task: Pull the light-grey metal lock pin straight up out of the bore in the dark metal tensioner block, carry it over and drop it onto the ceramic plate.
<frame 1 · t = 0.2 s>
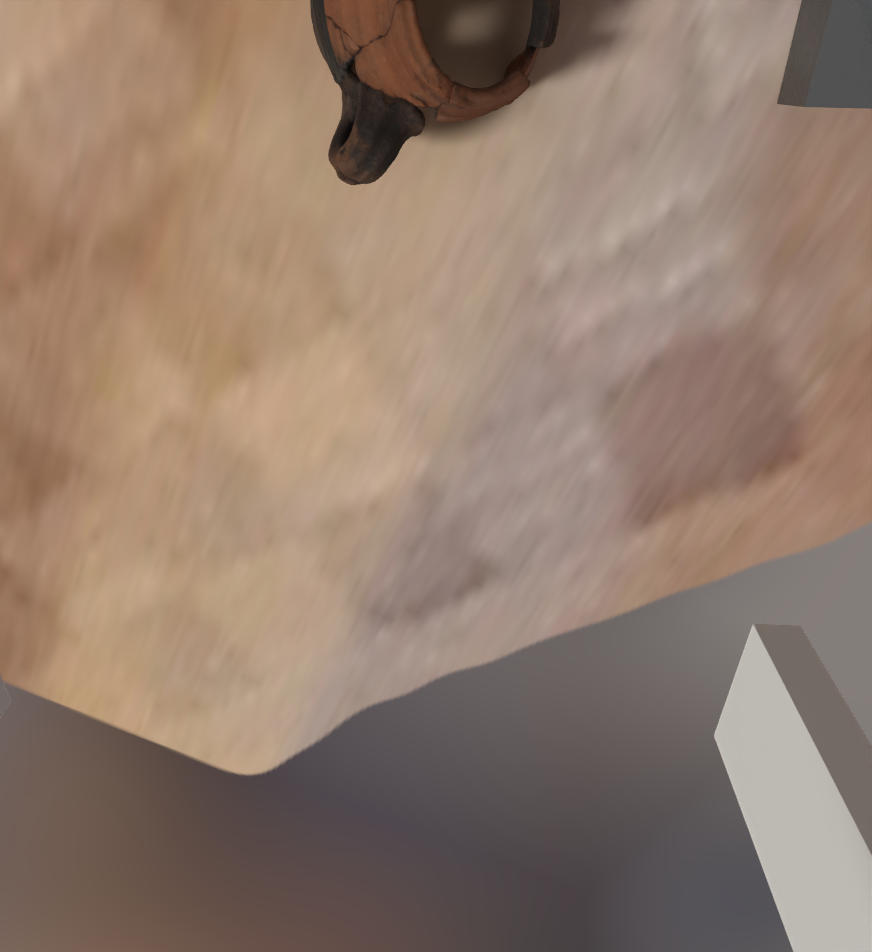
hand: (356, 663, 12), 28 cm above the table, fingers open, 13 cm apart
broken brown mug: (415, 42, 31), on the table
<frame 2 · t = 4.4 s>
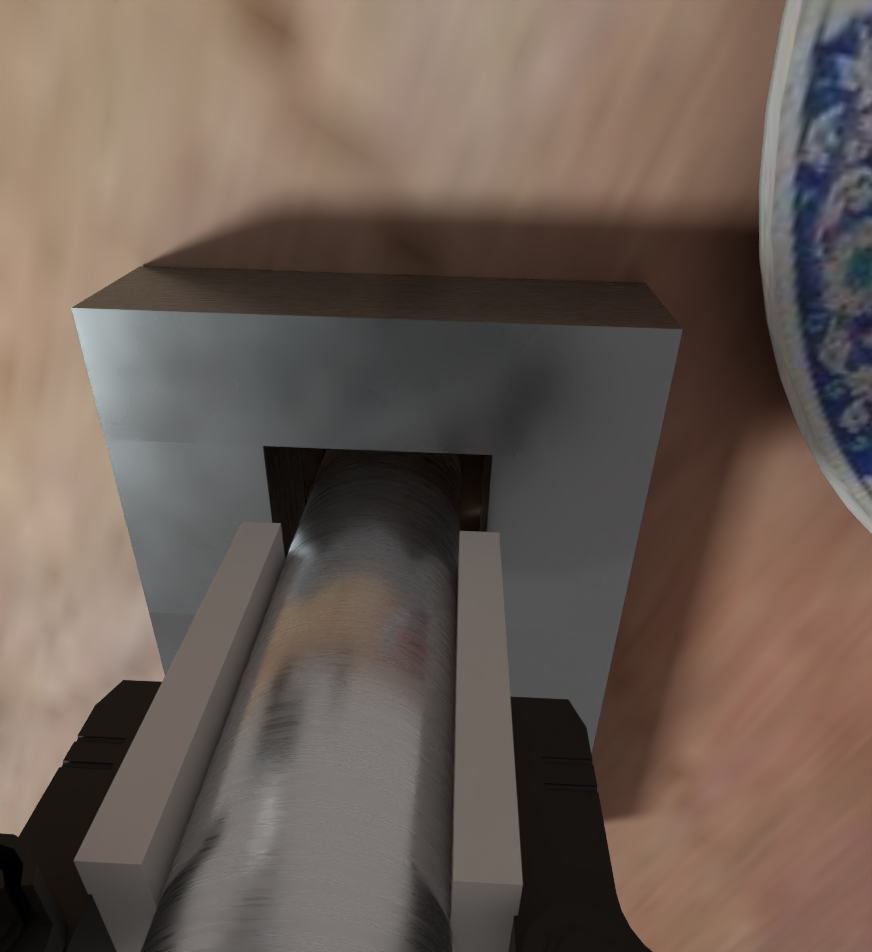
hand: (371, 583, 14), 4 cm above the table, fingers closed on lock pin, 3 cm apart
tensioner block: (394, 620, 20), on the table
lock pin: (392, 472, 17), resting in tensioner block, touching gripper
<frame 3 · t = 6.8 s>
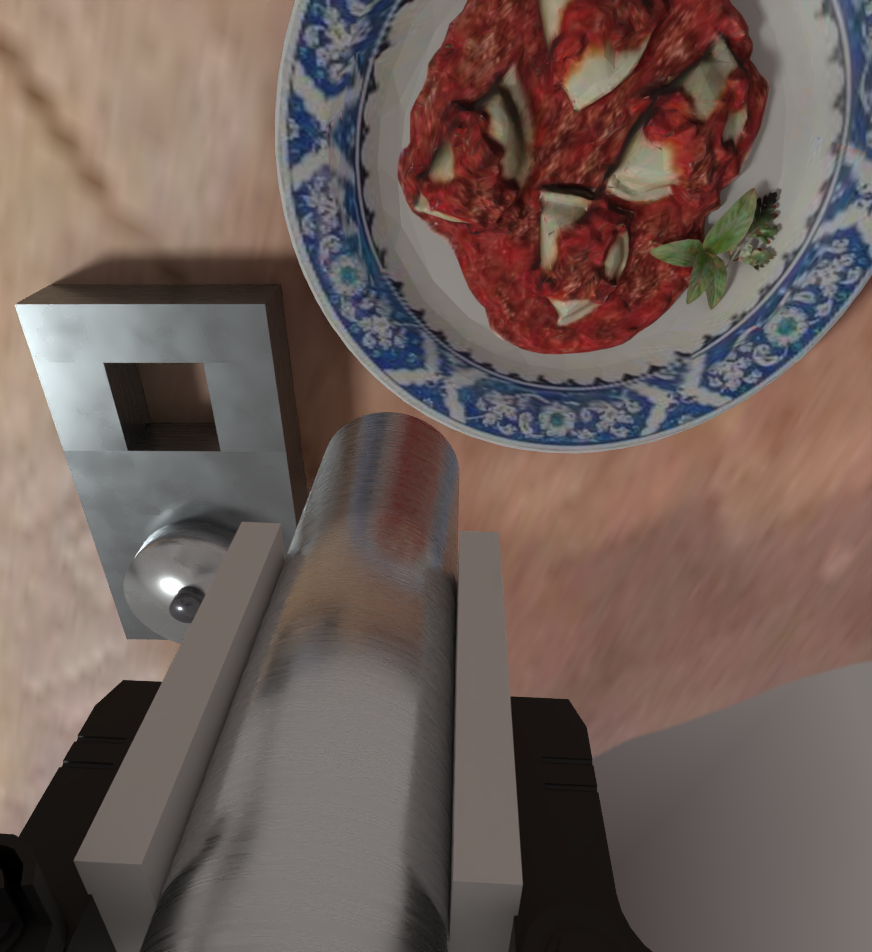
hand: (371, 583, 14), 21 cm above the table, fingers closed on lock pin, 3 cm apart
ceramic plate: (586, 166, 30), on the table
tensioner block: (204, 467, 37), on the table
lock pin: (390, 474, 17), point 17 cm above the table, touching gripper
when the fingers open (8 cm above the table, at t = 9.3 s): lock pin drops 1 cm, resting on ceramic plate.
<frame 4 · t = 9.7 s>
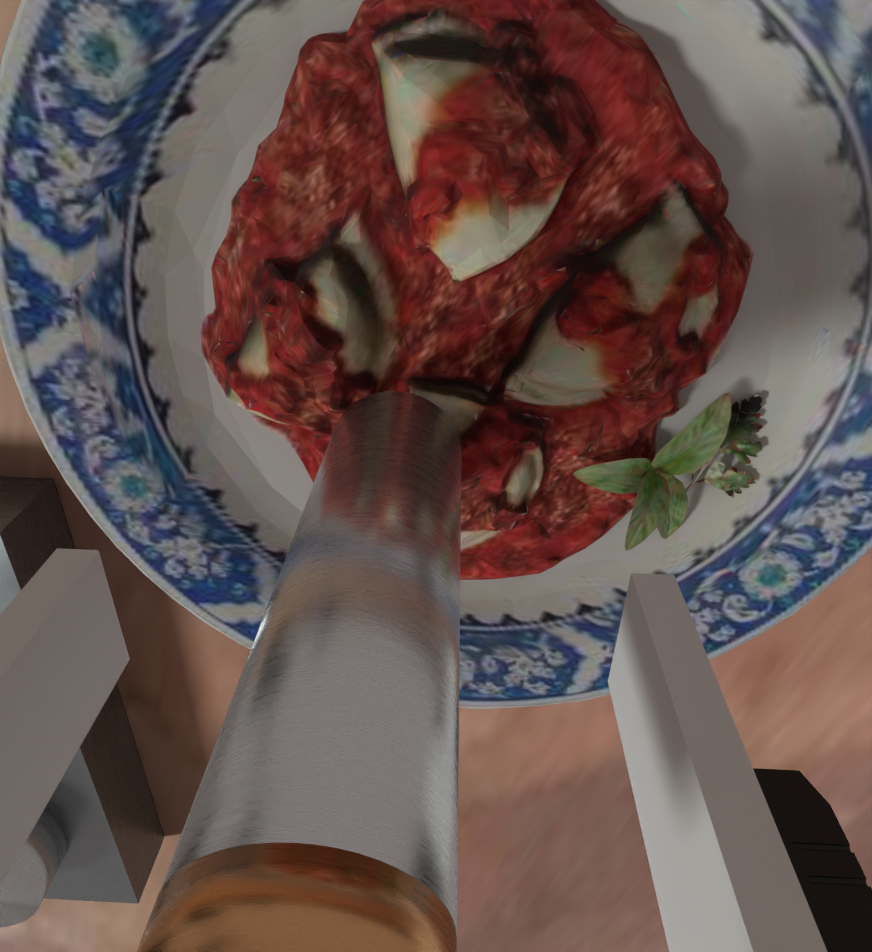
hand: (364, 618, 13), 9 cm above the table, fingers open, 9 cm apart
ceramic plate: (484, 343, 20), on the table, touching lock pin
lock pin: (396, 451, 18), point 3 cm above the table, touching ceramic plate
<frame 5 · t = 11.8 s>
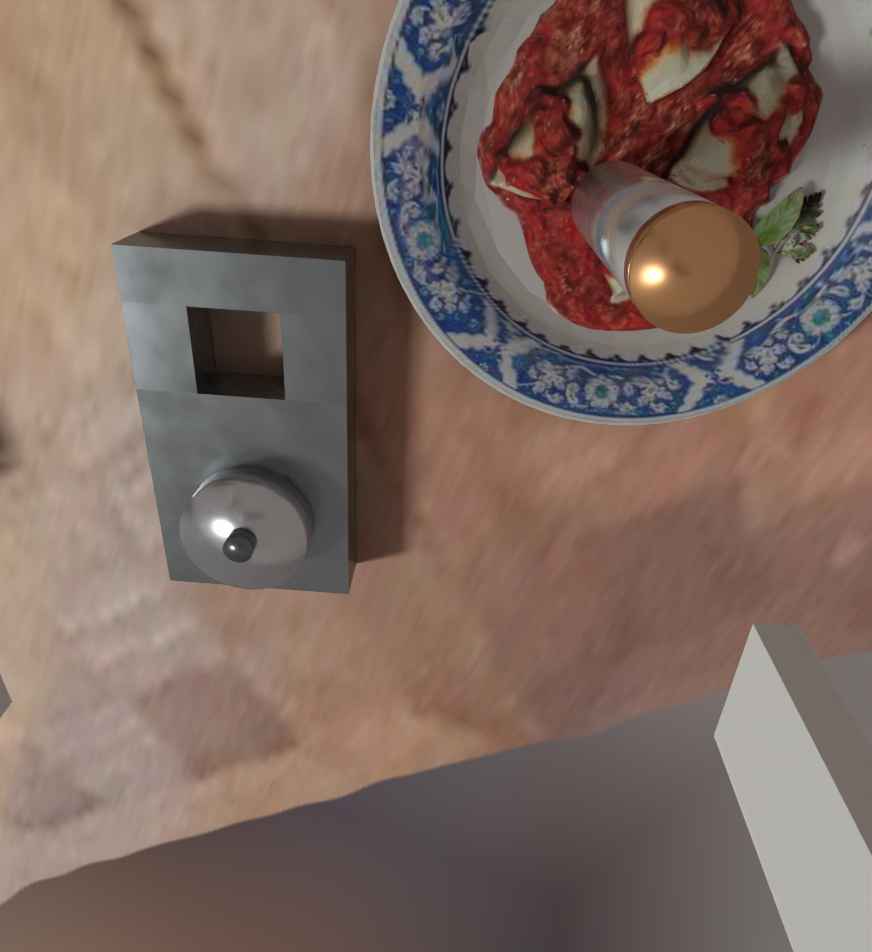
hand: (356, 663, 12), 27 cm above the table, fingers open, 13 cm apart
ceramic plate: (649, 156, 32), on the table, touching lock pin
tensioner block: (260, 418, 39), on the table
lock pin: (611, 203, 30), point 3 cm above the table, touching ceramic plate
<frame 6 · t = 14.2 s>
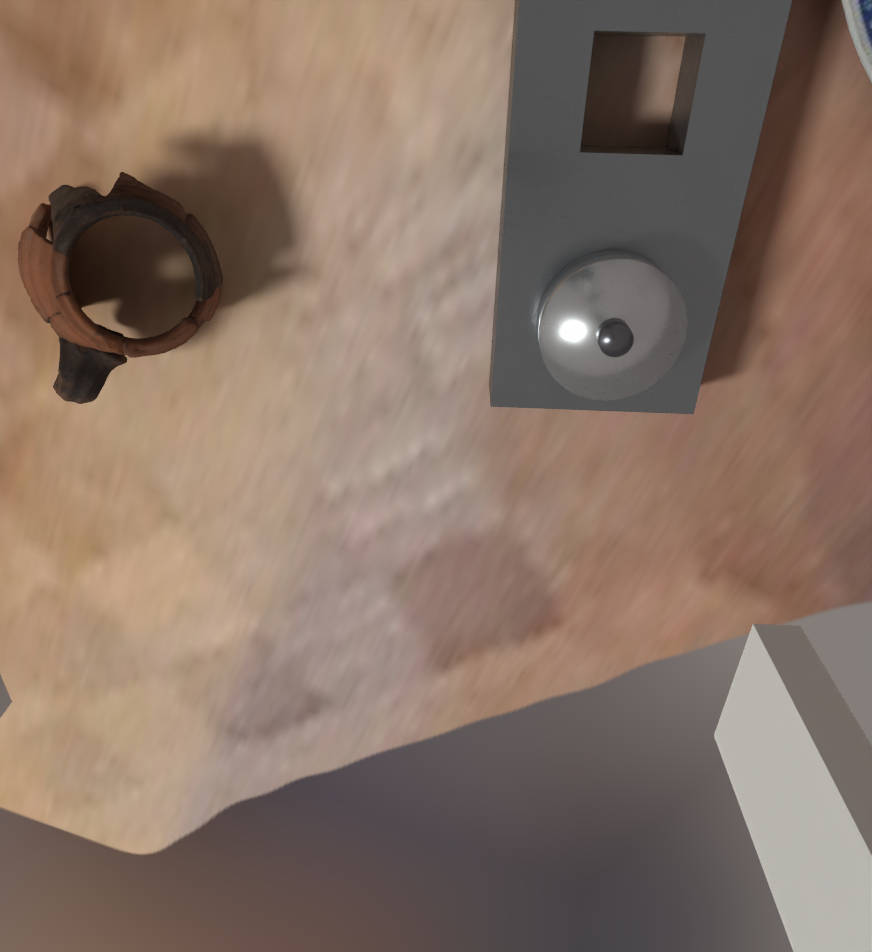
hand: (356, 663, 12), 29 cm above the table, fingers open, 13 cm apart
tensioner block: (610, 206, 35), on the table
broken brown mug: (134, 276, 38), on the table
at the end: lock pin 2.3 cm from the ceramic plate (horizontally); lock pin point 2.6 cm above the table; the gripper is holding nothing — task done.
